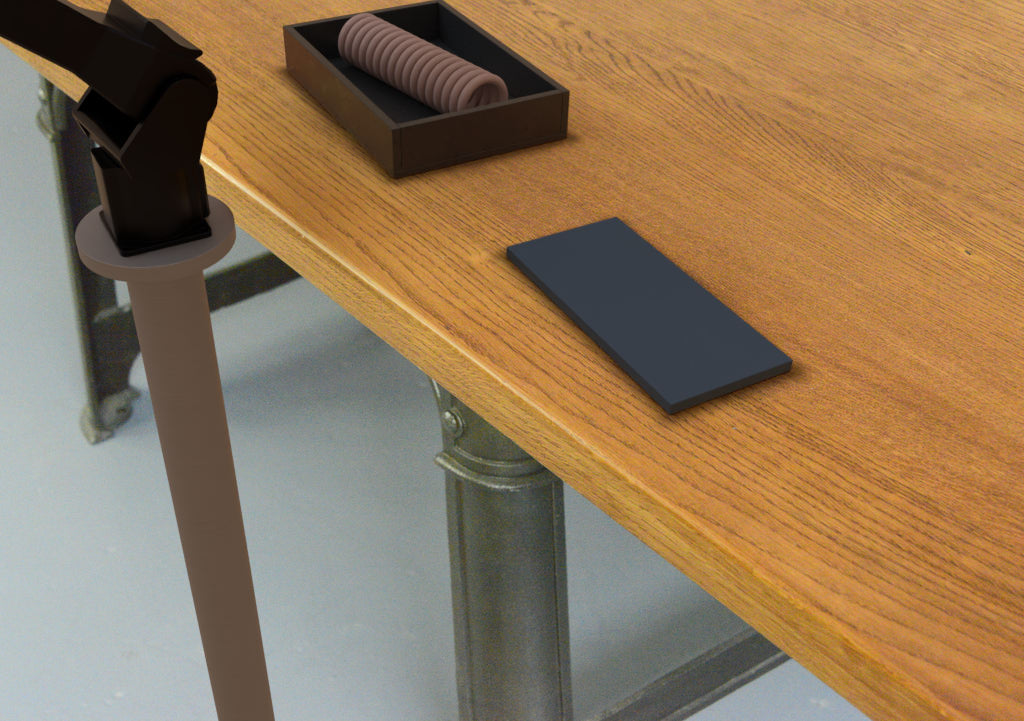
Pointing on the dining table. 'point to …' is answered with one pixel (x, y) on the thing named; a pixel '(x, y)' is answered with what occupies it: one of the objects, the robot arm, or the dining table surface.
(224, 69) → the dining table surface
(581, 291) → the pad
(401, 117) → the dark brown tray
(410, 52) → the coil
